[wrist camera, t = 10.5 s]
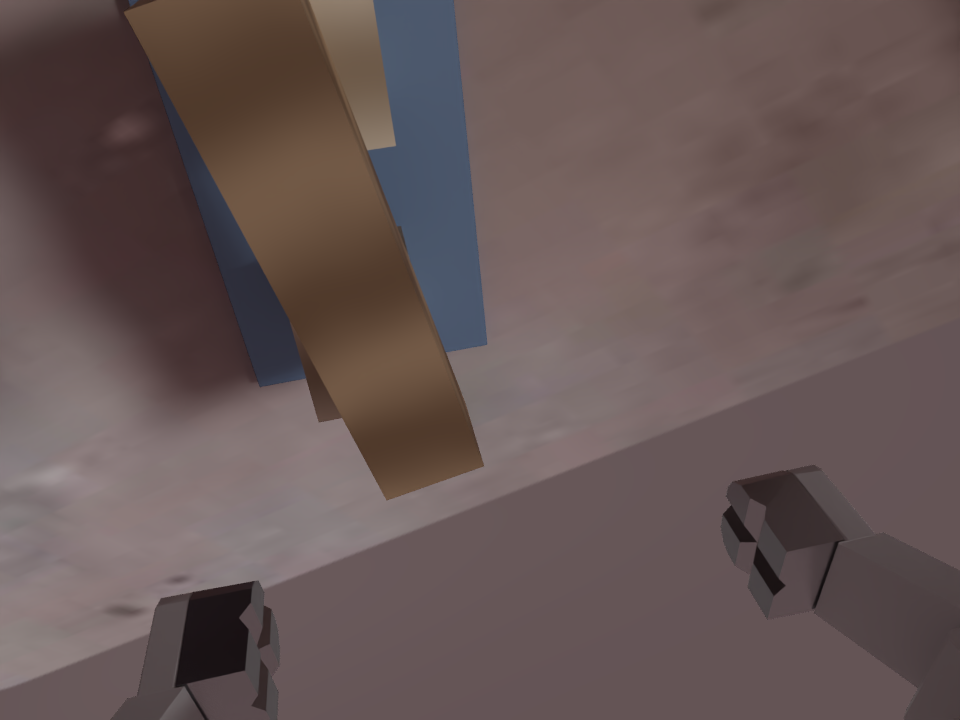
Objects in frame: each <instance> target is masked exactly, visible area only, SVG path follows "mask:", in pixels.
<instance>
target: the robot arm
mask: <svg viewBox="0 0 960 720" xmlns="http://www.w3.org/2000/svg"><path fill="white" fill-rule="evenodd" d="M726 497H727V499H728V501H729V502H730V504H731V506H730V507H729V508H728V509H727V510H726V511H725V512H724V513H723V516H722V523H721V531H722V536H723V542H724V545H725V547H726V550H727V552H728V555H729V556H730V558H731V560H732V562H733V563H734V565H735V566H736V567H738V568H739V569H741V570H743V571H745V572H746V573H748V574H750V576H749V582H748V589H749V590H750V592H751V594H752V595H753V597H754V599H755V600H756V602H757V603H758V605H759V607H760V608H761V610H762V612H763V613H764V615H765V617H766V618H767V620H768V619H774V618H778V617H783V616H788V615H794V614H799V613H804V612H809V611H814V610H815V611H814V613H815V614H816V615H817V616H819V617H820V618H822V619H823V620H824V621H826V622H827V623H828V624H830V625H831V626H833V627H834V628H835V629H837V630H838V631H840V632H841V633H842V634H844V635H845V636H846V637H848V638H849V639H851V640H852V641H853V642H855V643H856V644H858V645H859V646H860V647H862V648H863V649H865V650H866V651H867V652H869V653H870V654H871V655H873V656H874V657H875V658H877V659H878V660H880V661H881V662H882V663H884V664H885V665H887V666H888V667H889V668H891V669H892V670H894V671H895V672H896V673H898V674H899V675H900V676H902V677H903V678H905V679H906V680H907V681H909V682H910V683H911V684H913V685H914V686H916V687H917V688H918V689H917V691H916V693H915V694H914V696H913V698H912V700H911V702H910V704H909V705H908V707H907V709H906V712H905V715H904V720H960V570H958V569H956V568H954V567H952V566H950V565H948V564H946V563H944V562H942V561H940V560H938V559H936V558H934V557H932V556H930V555H928V554H926V553H924V552H922V551H920V550H918V549H916V548H914V547H912V546H910V545H908V544H906V543H904V542H902V541H900V540H898V539H896V538H894V537H892V536H890V535H888V534H885V533H879V534H875V532H874V531H873V530H872V529H871V528H870V527H869V525H868V524H867V523H866V522H865V521H864V519H863V518H862V517H861V516H860V515H859V513H858V512H857V511H856V510H855V509H854V508H853V506H852V505H851V504H850V503H849V502H848V500H847V499H846V498H845V497H844V496H843V494H842V493H841V492H840V491H839V490H838V489H837V487H836V486H835V485H834V484H833V483H832V482H831V481H830V479H829V478H828V477H827V475H826V474H825V473H824V472H823V471H822V470H821V468H819V467H817V466H815V465H810V466H805V467H800V468H796V469H791V470H786V471H778V472H774V473H769V474H765V475H760V476H755V477H751V478H747V479H742V480H738V481H733V482H732V483H731V484H730V485H729V486H728V490H727V495H726ZM279 665H280V645H279V634H278V628H277V624H276V620H275V617H274V614H273V612H272V610H271V609H270V608H268V607H266V606H264V591H263V589H262V587H261V585H260V583H259V581H252V582H246V583H241V584H235V585H230V586H224V587H218V588H213V589H207V590H202V591H196V592H191V593H186V594H181V595H176V596H171V597H166V598H161V599H160V601H159V603H158V605H157V606H156V608H155V612H154V617H153V621H152V626H151V631H150V636H149V641H148V646H147V650H146V656H145V660H144V665H143V670H142V674H141V680H140V684H139V689H138V694H137V696H135V697H132V698H127V700H126V701H125V702H124V703H123V704H122V706H121V707H120V708H119V709H118V711H117V712H116V713H115V714H114V716H113V717H112V718H111V720H277V715H278V690H277V688H276V686H275V683H274V681H273V679H272V676H273V675H274V673H275V671H276V670H277V669H278V667H279Z"/></svg>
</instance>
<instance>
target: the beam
mask: <svg viewBox="0 0 960 720" xmlns="http://www.w3.org/2000/svg"><path fill="white" fill-rule="evenodd" d="M124 14H125V16H126V17H127V19H128V21H129V23H130V25H131V27H132V29H133V30H134V32H135V34H136V36H137V38H138V40H139V42H140V43H141V45H142V47H143V49H144V51H145V53H146V55H147V56H148V58H149V60H150V62H151V64H152V66H153V68H154V69H155V71H156V73H157V75H158V77H159V79H160V81H161V82H162V84H163V86H164V88H165V90H166V92H167V94H168V95H169V97H170V99H171V101H172V103H173V105H174V107H175V108H176V110H177V112H178V114H179V116H180V118H181V120H182V121H183V123H184V125H185V127H186V129H187V131H188V133H189V134H190V136H191V138H192V140H193V142H194V144H195V146H196V147H197V149H198V151H199V153H200V155H201V157H202V159H203V160H204V162H205V164H206V166H207V168H208V170H209V172H210V173H211V175H212V177H213V179H214V181H215V183H216V185H217V186H218V188H219V190H220V192H221V194H222V196H223V197H224V199H225V201H226V203H227V205H228V207H229V209H230V210H231V212H232V214H233V216H234V218H235V220H236V222H237V223H238V225H239V227H240V229H241V231H242V233H243V235H244V236H245V238H246V240H247V242H248V244H249V246H250V248H251V249H252V251H253V253H254V255H255V257H256V259H257V261H258V262H259V264H260V266H261V268H262V270H263V272H264V274H265V275H266V277H267V279H268V281H269V283H270V285H271V287H272V288H273V290H274V292H275V294H276V296H277V298H278V300H279V301H280V303H281V305H282V307H283V309H284V311H285V313H286V314H287V316H288V318H289V320H290V322H291V324H292V326H293V327H294V329H295V331H296V333H297V335H298V337H299V339H300V340H301V342H302V344H303V346H304V348H305V350H306V352H307V353H308V355H309V357H310V359H311V361H312V363H313V365H314V366H315V368H316V370H317V372H318V374H319V376H320V378H321V379H322V381H323V383H324V385H325V387H326V389H327V390H328V392H329V394H330V396H331V398H332V400H333V402H334V403H335V405H336V407H337V409H338V411H339V413H340V415H341V416H342V418H343V420H344V422H345V424H346V426H347V428H348V429H349V431H350V433H351V435H352V437H353V439H354V441H355V442H356V444H357V446H358V448H359V450H360V452H361V454H362V455H363V457H364V459H365V461H366V463H367V465H368V467H369V468H370V470H371V472H372V474H373V476H374V478H375V480H376V481H377V483H378V485H379V487H380V489H381V491H382V493H383V494H384V496H385V498H386V500H389V499H392V498H395V497H398V496H401V495H404V494H406V493H409V492H412V491H415V490H418V489H421V488H423V487H426V486H429V485H432V484H435V483H438V482H440V481H443V480H446V479H449V478H452V477H455V476H457V475H460V474H463V473H466V472H469V471H472V470H474V469H477V468H480V467H483V466H484V464H483V461H482V458H481V454H480V451H479V447H478V444H477V441H476V437H475V434H474V431H473V427H472V424H471V420H470V417H469V414H468V410H467V407H466V404H465V401H464V398H463V396H462V393H461V391H460V388H459V385H458V383H457V380H456V378H455V375H454V373H453V370H452V367H451V365H450V362H449V360H448V357H447V355H446V352H445V349H444V347H443V344H442V342H441V339H440V336H439V334H438V331H437V329H436V326H435V324H434V321H433V318H432V316H431V313H430V311H429V308H428V305H427V303H426V300H425V298H424V295H423V293H422V290H421V287H420V285H419V282H418V280H417V277H416V275H415V272H414V269H413V267H412V264H411V262H410V259H409V256H408V254H407V251H406V249H405V246H404V244H403V241H402V238H401V236H400V233H399V231H398V228H397V225H396V223H395V220H394V218H393V215H392V213H391V210H390V207H389V205H388V202H387V200H386V197H385V195H384V192H383V189H382V187H381V184H380V182H379V179H378V176H377V174H376V171H375V169H374V166H373V164H372V161H371V158H370V156H369V153H368V151H367V148H366V145H365V143H364V140H363V138H362V135H361V133H360V130H359V127H358V125H357V122H356V120H355V117H354V115H353V112H352V109H351V107H350V104H349V102H348V99H347V96H346V94H345V91H344V89H343V86H342V84H341V81H340V78H339V76H338V73H337V71H336V68H335V65H334V63H333V60H332V58H331V55H330V53H329V50H328V47H327V45H326V42H325V40H324V37H323V35H322V32H321V29H320V27H319V24H318V22H317V19H316V16H315V14H314V11H313V9H312V6H311V4H310V1H309V0H139V1H137V2H136V3H135V4H133V5H132V6H131V7H129V8H128V9H127V10H125V11H124Z"/></svg>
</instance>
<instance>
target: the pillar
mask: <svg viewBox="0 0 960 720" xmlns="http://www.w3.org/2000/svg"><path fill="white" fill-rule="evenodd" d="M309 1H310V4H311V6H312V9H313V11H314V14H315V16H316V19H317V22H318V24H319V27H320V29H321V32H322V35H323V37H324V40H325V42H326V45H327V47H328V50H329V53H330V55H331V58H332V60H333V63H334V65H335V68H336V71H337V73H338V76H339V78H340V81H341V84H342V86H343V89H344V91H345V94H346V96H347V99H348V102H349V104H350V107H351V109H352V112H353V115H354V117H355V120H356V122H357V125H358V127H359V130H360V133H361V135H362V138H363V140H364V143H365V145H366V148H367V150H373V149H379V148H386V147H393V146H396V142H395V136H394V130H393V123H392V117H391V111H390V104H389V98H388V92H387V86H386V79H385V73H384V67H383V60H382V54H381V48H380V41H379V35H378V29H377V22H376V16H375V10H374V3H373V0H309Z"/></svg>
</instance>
